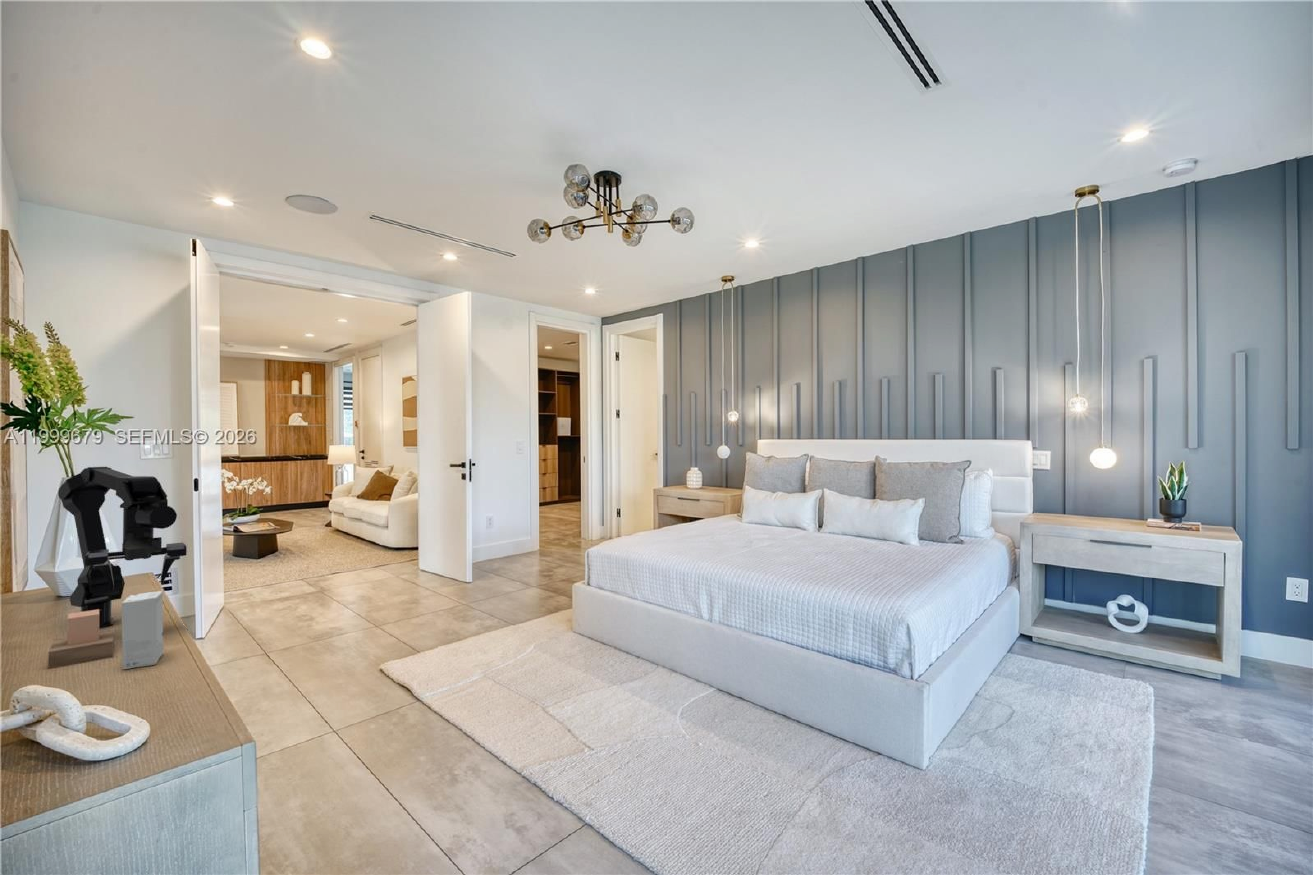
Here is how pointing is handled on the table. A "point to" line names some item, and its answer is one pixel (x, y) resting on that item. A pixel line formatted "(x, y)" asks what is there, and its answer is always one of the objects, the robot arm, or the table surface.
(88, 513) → the robot arm
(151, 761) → the table surface
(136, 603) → the skincare box
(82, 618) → the terracotta block
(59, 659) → the block
